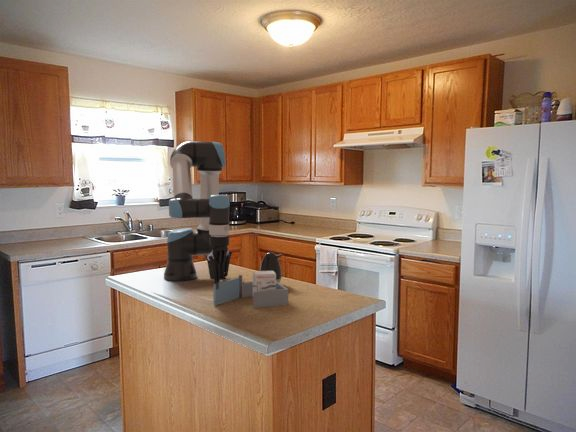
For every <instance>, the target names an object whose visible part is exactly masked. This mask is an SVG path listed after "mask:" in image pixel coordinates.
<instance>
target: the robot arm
mask: <svg viewBox="0 0 576 432" xmlns="http://www.w3.org/2000/svg"><path fill="white" fill-rule="evenodd" d="M169 165H170V168H172V185H173V186H172V187H173V188H172V189H173V191H172V193H173V198H171V199H169V201H168V214H169V215H168V216H169V217H170V218H172V219H189V218H190V219H191V218H195V219H196V218H199V219H200V220H199V221H200V223H199V225H197V227H196V230H193V228H191V227H187V228H186V227H185V228H178V229H173V230H171V231H169V232H168V233H167V238H166V239H167V240H166V243H167V263H166V267H165V271H164V273H163V279H164V280H166V281H172V282H184V281H190V280H194V279H196V278H197V273H198V272H197V270H196V267H195V264H194V259H193V256H205V259H206V261H207V262H206V263H207V267H208V268H207V269H208V273H209V278H210V280H213V281H214V282H213V285H214V284H215V283H219V282H223V281H225V280H226V279H227V277H228V275H229V269H230V263H231V257H232V255H233V252H232V251H229V248H228V246H230V236H229V235H230V205H231V203H230V196H229V195H227V194H219V190H220V187H219V186H220V185H219V184H220V183H219V182H220V181H219V180H220V179H219V178H220V177H219V175H220V174H221V173H222V171H223V168H225V167H226V154H225V149H224V146H223V144H222V143H221V142H219V141H218V142H217V141H197V140H195V141H193V140H192V141H191V140H190V141H184V142H182V143H180V144H179V145H177V146H176V147H175V148H174V149H173V151H172V152H171V155H170V157H169ZM192 167H194V168H195V167H196V172H198V173H199V176H200V177H199V179H200V182H199V183H200V184H199V187H200V191H199V192H200V196H199V198H193V197H194V196H193V186H192V173H191V171H192V170H191V168H192Z"/></svg>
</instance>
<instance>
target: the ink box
mask: <svg viewBox="0 0 576 432" xmlns="http://www.w3.org/2000/svg"><path fill="white" fill-rule="evenodd" d="M252 281H253V297H252V302H253V301H254V292H256V291H266V290H276V273H275V272H274V271H260V270H258V271H257V270H255V271H253V272H252Z"/></svg>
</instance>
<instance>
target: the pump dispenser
mask: <svg viewBox="0 0 576 432" xmlns="http://www.w3.org/2000/svg"><path fill="white" fill-rule="evenodd" d="M281 257H283V254H282V253H279V254H276V253H275V252H273V251H269V252H266V253H265V254H264V256H263V258H262V260H261V262H260V267H259V271H274V272H275V273H276V281H277V282H278V283H280V282H281V280H282V277H283V276H282V275H283V274H282V268H281V267H282V266H281V263H280V261H279V258H281Z"/></svg>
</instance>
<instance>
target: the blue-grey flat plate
mask: <svg viewBox="0 0 576 432" xmlns="http://www.w3.org/2000/svg"><path fill="white" fill-rule="evenodd" d="M236 299H240V298H239V277H235V278H230V279H227V280H224V281H223V282H219V283H215V284H214V283H213V306H218V305H221V304H224V303H227V302H230V301H233V300H236Z"/></svg>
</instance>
